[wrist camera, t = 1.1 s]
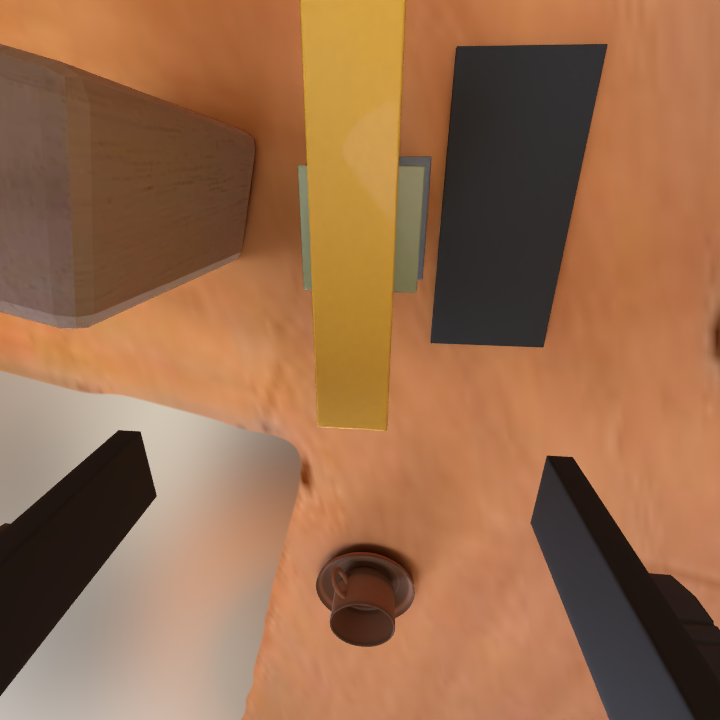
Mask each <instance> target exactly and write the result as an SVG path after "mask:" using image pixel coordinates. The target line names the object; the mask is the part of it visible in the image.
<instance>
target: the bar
mask: <svg viewBox="0 0 720 720" xmlns="http://www.w3.org/2000/svg"><path fill="white" fill-rule="evenodd" d="M300 8H301V32H302V57H303V82H304V106H305V131H306V156H307V180H308V205H309V230H310V255H311V279H312V304H313V329H314V353H315V378H316V403H317V425H318V427H324V428H343V429H361V430H380V431H386V430H387V422H388V399H389V377H390V354H391V331H392V309H393V286H394V263H395V240H396V218H397V195H398V172H399V149H400V127H401V104H402V81H403V59H404V36H405V13H406V0H300Z"/></svg>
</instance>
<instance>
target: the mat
mask: <svg viewBox="0 0 720 720" xmlns="http://www.w3.org/2000/svg"><path fill="white" fill-rule="evenodd" d="M606 49H607V44H586V45H518V46H457V48H456V57H455V68H454V80H453V91H452V102H451V114H450V125H449V137H448V148H447V160H446V171H445V183H444V194H443V205H442V217H441V228H440V240H439V251H438V263H437V274H436V286H435V297H434V308H433V320H432V331H431V343H444V344H470V345H497V346H523V347H543V346H544V341H545V336H546V331H547V327H548V322H549V317H550V313H551V308H552V303H553V298H554V294H555V289H556V284H557V280H558V275H559V270H560V265H561V261H562V256H563V251H564V247H565V242H566V237H567V232H568V228H569V223H570V218H571V214H572V209H573V204H574V199H575V195H576V190H577V185H578V181H579V176H580V171H581V166H582V162H583V157H584V152H585V148H586V143H587V138H588V133H589V129H590V124H591V119H592V115H593V110H594V105H595V100H596V96H597V91H598V86H599V82H600V77H601V72H602V67H603V63H604V58H605V53H606Z"/></svg>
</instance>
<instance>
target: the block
mask: <svg viewBox="0 0 720 720" xmlns="http://www.w3.org/2000/svg"><path fill="white" fill-rule="evenodd" d="M254 156H255V144H254V139H253V137H252V136H250V135H249V134H248V133H247V132H246V131H244V130H241V129H239V128H236V127H233V126H231V125H228V124H225V123H223V122H220V121H217V120H215V119H212V118H209V117H207V116H204V115H201V114H199V113H196V112H193V111H191V110H188V109H185V108H183V107H180V106H177V105H175V104H172V103H169V102H167V101H164V100H161V99H159V98H156V97H153V96H151V95H148V94H145V93H143V92H140V91H137V90H135V89H132V88H129V87H127V86H124V85H121V84H119V83H116V82H113V81H111V80H108V79H105V78H103V77H100V76H97V75H95V74H92V73H89V72H87V71H84V70H81V69H79V68H76V67H73V66H71V65H68V64H65V63H63V62H60V61H56V60H53V59H50V58H46V57H43V56H39V55H36V54H33V53H29V52H26V51H22V50H19V49H16V48H12V47H9V46H5V45H2V44H0V312H2V313H6V314H10V315H13V316H17V317H21V318H24V319H28V320H32V321H35V322H39V323H43V324H46V325H50V326H54V327H57V328H65V329H77V328H86V327H90V326H92V325H94V324H96V323H99V322H101V321H103V320H105V319H107V318H109V317H112V316H114V315H116V314H118V313H120V312H123V311H125V310H127V309H129V308H131V307H133V306H136V305H138V304H140V303H142V302H144V301H147V300H149V299H151V298H153V297H155V296H158V295H160V294H162V293H164V292H166V291H168V290H171V289H173V288H175V287H177V286H179V285H182V284H184V283H186V282H188V281H190V280H193V279H195V278H197V277H199V276H201V275H203V274H206V273H208V272H210V271H212V270H214V269H217V268H219V267H221V266H223V265H225V264H227V263H230V262H232V261H234V260H236V259H238V257H239V255H240V254H241V252H242V245H243V238H244V230H245V223H246V215H247V208H248V200H249V193H250V186H251V178H252V171H253V163H254Z"/></svg>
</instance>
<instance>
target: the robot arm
mask: <svg viewBox="0 0 720 720" xmlns="http://www.w3.org/2000/svg"><path fill="white" fill-rule="evenodd" d="M155 498H156V492H155V487H154V483H153V480H152V475H151V471H150V468H149V464H148V460H147V456H146V452H145V448H144V444H143V440H142V436H141V432H138V431H122V430H118V431H117V432H116V433H115V434H114V435H113V436H112V437H110V438H109V439H108V440H107V441H106V442H105V443H103V444H102V445H101V446H100V447H99V448H98V449H97V450H95V451H94V452H93V453H92V454H91V455H90V456H88V457H87V458H86V459H85V460H84V461H83V462H82V463H80V464H79V465H78V466H77V467H76V468H75V469H73V470H72V471H71V472H70V473H69V474H68V475H67V476H65V477H64V478H63V479H62V480H61V481H60V482H58V483H57V484H56V485H55V486H54V487H53V488H52V489H51V490H49V491H48V492H47V493H46V494H45V495H44V496H42V497H41V498H40V499H39V500H38V501H37V502H35V503H34V504H33V505H32V506H31V507H30V508H29V509H27V510H26V511H25V512H24V513H23V514H22V515H20V516H19V517H18V518H17V519H16V520H15V521H14V522H13V523H11V524H7V523H5V524H3V525H1V526H0V696H1V694H2V693H3V692H4V691H5V689H6V688H7V687H8V685H9V684H10V683H11V682H12V680H13V679H14V678H15V677H16V675H17V674H18V673H19V672H20V670H21V669H22V668H23V666H24V665H25V664H26V663H27V661H28V660H29V659H30V657H31V656H32V655H33V654H34V652H35V651H36V650H37V648H38V647H39V646H40V645H41V643H42V642H43V641H44V640H45V638H46V637H47V636H48V634H49V633H50V632H51V631H52V629H53V628H54V627H55V625H56V624H57V623H58V621H59V620H60V619H61V618H62V617H63V615H64V614H65V612H66V611H67V610H68V609H69V608H70V606H71V605H72V604H73V602H74V601H75V600H76V599H77V597H78V596H79V595H80V594H81V592H82V591H83V590H84V588H85V587H86V586H87V584H88V583H89V582H90V581H91V579H92V578H93V577H94V576H95V574H96V573H97V572H98V571H99V569H100V568H101V567H102V565H103V564H104V563H105V561H106V560H107V559H108V558H109V556H110V555H111V554H112V553H113V551H114V550H115V549H116V547H117V546H118V545H119V544H120V542H121V541H122V540H123V539H124V537H125V536H126V535H127V533H128V532H129V531H130V530H131V528H132V527H133V526H134V524H135V523H136V522H137V521H138V519H139V518H140V517H141V515H142V514H143V513H144V512H145V510H146V509H147V508H148V507H149V505H150V504H151V503H152V501H153V500H154V499H155ZM531 525H532V528H533V530H534V533H535V535H536V538H537V540H538V543H539V545H540V548H541V550H542V553H543V555H544V558H545V560H546V563H547V565H548V568H549V570H550V573H551V575H552V578H553V580H554V583H555V585H556V588H557V590H558V593H559V595H560V598H561V600H562V603H563V605H564V607H565V610H566V612H567V615H568V617H569V620H570V622H571V625H572V627H573V630H574V632H575V635H576V637H577V640H578V642H579V645H580V647H581V650H582V652H583V655H584V657H585V660H586V662H587V665H588V667H589V670H590V672H591V675H592V677H593V680H594V682H595V685H596V687H597V690H598V692H599V695H600V697H601V700H602V702H603V705H604V707H605V710H606V712H607V715H608V717H609V720H720V630H719V628H718V627H717V626H714V623H713V622H714V621H713V620H712V619H711V617H710V616H709V615H708V613H707V612H706V610H705V609H704V608H703V606H702V605H701V604H700V602H699V601H698V600H697V598H696V597H695V596H694V595H693V594H692V593H691V592H690V591H688V590H687V589H686V588H685V587H684V586H683V585H682V584H680V583H679V582H678V581H677V580H676V579H675V578H674V577H672V576H671V575H664V574H651V573H648V571H647V570H646V568H645V567H644V565H643V564H642V562H641V561H640V559H639V558H638V556H637V555H636V553H635V552H634V550H633V548H632V547H631V545H630V544H629V542H628V541H627V539H626V538H625V536H624V535H623V533H622V532H621V530H620V529H619V527H618V526H617V524H616V523H615V521H614V519H613V518H612V516H611V515H610V513H609V512H608V510H607V509H606V507H605V506H604V504H603V503H602V501H601V500H600V498H599V497H598V495H597V494H596V492H595V490H594V489H593V487H592V486H591V484H590V483H589V481H588V480H587V478H586V477H585V475H584V474H583V472H582V471H581V469H580V468H579V466H578V465H577V463H576V461H575V460H574V458H573V457H561V456H547V458H546V462H545V466H544V470H543V474H542V478H541V482H540V486H539V491H538V495H537V499H536V503H535V507H534V511H533V515H532V520H531Z"/></svg>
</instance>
